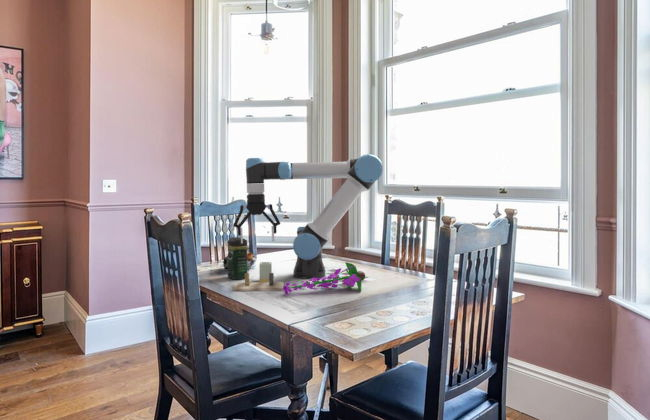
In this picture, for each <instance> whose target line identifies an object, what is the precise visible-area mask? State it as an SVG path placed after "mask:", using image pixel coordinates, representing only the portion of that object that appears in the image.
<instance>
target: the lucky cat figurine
mask: <svg viewBox="0 0 650 420" xmlns="http://www.w3.org/2000/svg"><path fill="white" fill-rule="evenodd" d="M257 259H258V257H257V255H254V254H253V252H249V251H248V250H247V269H248V270H250V269H252V267H253V265H254V264H255V263H256V261H257ZM222 263H223V264H222V265H223V268H224V270H227V271H228V255H226V256H225V257H224V259H223V262H222Z"/></svg>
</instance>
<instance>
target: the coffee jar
mask: <svg viewBox="0 0 650 420" xmlns="http://www.w3.org/2000/svg"><path fill="white" fill-rule="evenodd" d="M248 247H249V246H248V240H247V239H246V238H243V243H241V237H237V236H236V237H230V238H228V240H227V256H228V270H227V277H228V278H229V279H232V280H245V273H249V271H248V270H249V269H247V251H248Z"/></svg>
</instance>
